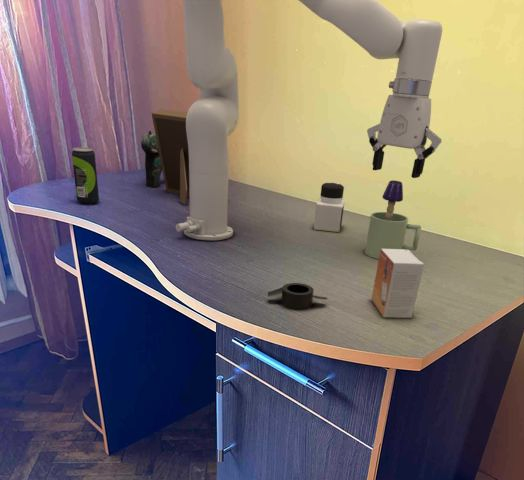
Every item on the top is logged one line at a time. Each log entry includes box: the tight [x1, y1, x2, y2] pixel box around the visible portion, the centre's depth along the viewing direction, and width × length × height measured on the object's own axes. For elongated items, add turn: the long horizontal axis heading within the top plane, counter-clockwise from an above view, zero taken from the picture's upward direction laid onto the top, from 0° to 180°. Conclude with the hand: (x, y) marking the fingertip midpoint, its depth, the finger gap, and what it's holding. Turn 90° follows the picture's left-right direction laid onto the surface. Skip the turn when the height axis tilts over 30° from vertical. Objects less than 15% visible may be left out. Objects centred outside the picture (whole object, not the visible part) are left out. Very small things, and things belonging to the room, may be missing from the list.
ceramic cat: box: [140, 130, 163, 188], centre depth 178 cm, size 20×6×20 cm, turn 147°
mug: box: [364, 211, 422, 260], centre depth 124 cm, size 12×9×9 cm
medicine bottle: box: [313, 182, 345, 233], centre depth 141 cm, size 7×7×12 cm
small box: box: [370, 249, 425, 319], centre depth 94 cm, size 8×6×10 cm
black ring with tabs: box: [267, 282, 328, 311], centre depth 96 cm, size 8×10×3 cm
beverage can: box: [71, 147, 100, 206], centre depth 149 cm, size 6×6×15 cm
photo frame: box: [151, 108, 190, 206], centre depth 159 cm, size 15×22×25 cm
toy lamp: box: [382, 179, 404, 221], centre depth 122 cm, size 5×5×17 cm
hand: (395, 173), depth 117 cm, fingers open, 9 cm apart
